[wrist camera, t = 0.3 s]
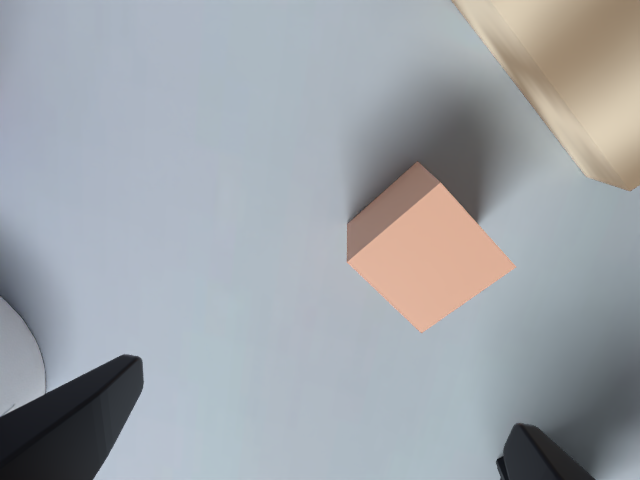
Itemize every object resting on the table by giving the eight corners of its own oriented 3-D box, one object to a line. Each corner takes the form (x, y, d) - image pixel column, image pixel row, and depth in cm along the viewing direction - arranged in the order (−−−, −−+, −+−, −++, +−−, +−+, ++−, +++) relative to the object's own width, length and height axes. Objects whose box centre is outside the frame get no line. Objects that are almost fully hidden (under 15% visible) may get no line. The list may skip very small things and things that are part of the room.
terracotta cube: (476, 226, 19) (516, 267, 15) (405, 280, 21) (421, 333, 16) (417, 161, 18) (440, 182, 14) (347, 223, 20) (346, 261, 15)
